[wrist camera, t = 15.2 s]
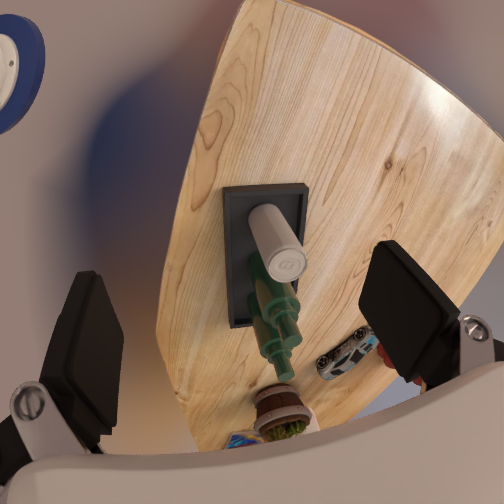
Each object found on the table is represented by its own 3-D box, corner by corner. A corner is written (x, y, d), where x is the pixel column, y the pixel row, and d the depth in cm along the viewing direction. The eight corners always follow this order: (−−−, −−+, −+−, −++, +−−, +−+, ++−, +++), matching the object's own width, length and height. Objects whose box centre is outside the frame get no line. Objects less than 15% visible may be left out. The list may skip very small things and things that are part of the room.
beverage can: (273, 234, 44) (299, 285, 34) (243, 228, 43) (261, 280, 33) (284, 205, 42) (315, 251, 32) (253, 198, 40) (276, 244, 31)
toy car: (378, 331, 67) (387, 346, 63) (326, 370, 71) (332, 385, 67) (367, 321, 63) (376, 337, 59) (311, 363, 67) (317, 379, 63)
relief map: (257, 450, 101) (258, 454, 100) (220, 453, 97) (221, 458, 95) (274, 428, 89) (276, 433, 87) (231, 432, 84) (232, 437, 83)
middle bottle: (246, 277, 48) (270, 358, 35) (246, 250, 45) (272, 331, 32) (277, 273, 49) (310, 350, 35) (279, 247, 46) (317, 323, 33)
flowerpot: (312, 380, 73) (336, 444, 57) (277, 407, 79) (295, 466, 62) (270, 373, 66) (292, 447, 50) (236, 402, 72) (250, 468, 56)
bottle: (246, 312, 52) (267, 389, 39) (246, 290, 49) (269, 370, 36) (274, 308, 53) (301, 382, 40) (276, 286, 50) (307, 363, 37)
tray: (228, 320, 53) (230, 329, 52) (222, 187, 39) (224, 193, 37) (289, 312, 55) (292, 320, 54) (304, 182, 41) (309, 188, 39)
